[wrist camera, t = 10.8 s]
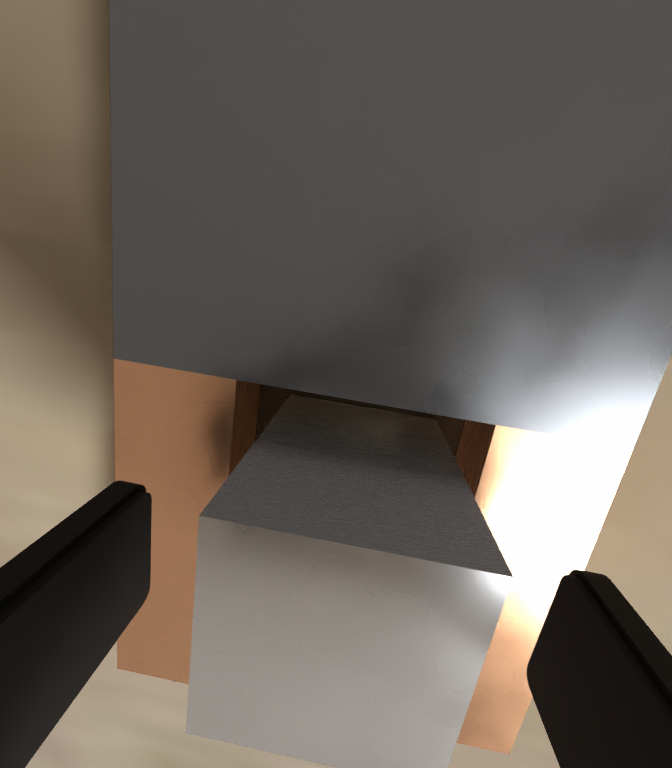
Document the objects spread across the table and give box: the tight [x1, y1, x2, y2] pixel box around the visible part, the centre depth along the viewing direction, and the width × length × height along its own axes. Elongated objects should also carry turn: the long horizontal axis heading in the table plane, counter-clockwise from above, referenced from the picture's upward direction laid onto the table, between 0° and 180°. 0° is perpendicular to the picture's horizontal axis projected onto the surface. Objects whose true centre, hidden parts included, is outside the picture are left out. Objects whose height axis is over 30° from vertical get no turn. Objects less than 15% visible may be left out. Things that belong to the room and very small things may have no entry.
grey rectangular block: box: [186, 394, 513, 768], centre depth 10 cm, size 5×5×7 cm
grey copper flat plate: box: [109, 0, 672, 754], centre depth 9 cm, size 14×36×2 cm, turn 171°
